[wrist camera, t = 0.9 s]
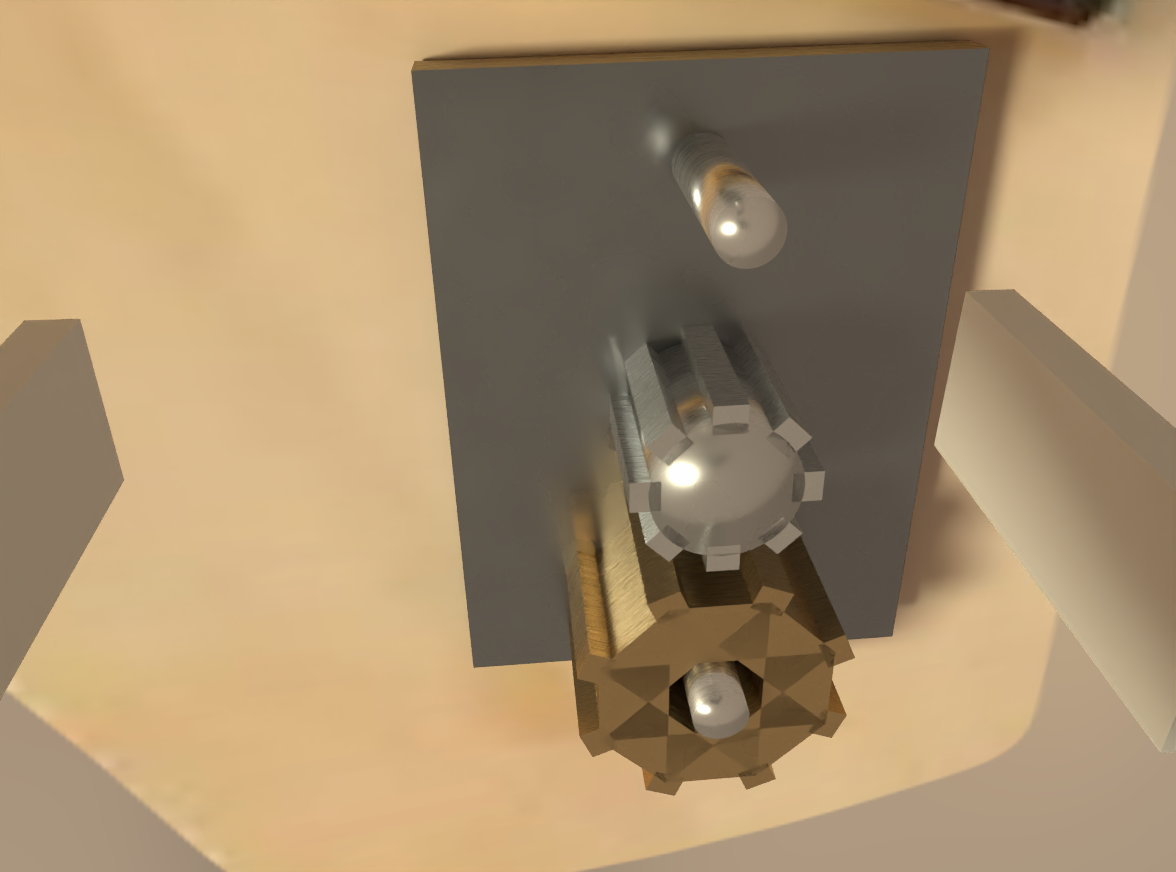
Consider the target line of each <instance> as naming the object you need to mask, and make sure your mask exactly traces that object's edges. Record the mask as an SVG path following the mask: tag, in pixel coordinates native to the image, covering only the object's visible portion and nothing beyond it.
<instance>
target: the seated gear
mask: <svg viewBox="0 0 1176 872" xmlns="http://www.w3.org/2000/svg"><path fill="white" fill-rule="evenodd" d="M627 510H628V515H629V520H630V525H629V526H628V527H627V528H626V529H625V530H624V531H622V532H621V533H620V534H619V535H618V536H617V537H616V538H615V539H614V540H612V541H611V542H610V543H609V544H608V545H607V546H606V547H605V548H604V549H602V550H601V551H600V552H599V553H598V554H597V555H592V554H589V553H585V552H581V551H576V554H575V556H574V558H573V560H572V562H571V565H570V567H569V569H568V571H567V573H566V575H567V585H568V594H569V603H570V613H571V622H572V626H571V627H569V637H570V647H571V656H572V666H573V676H574V686H575V696H576V705H577V715H578V725H579V735H580V738H581V739H582V741H583V742H584V744H585V746H586V747H587V749H588V750H589V752H590V753H591V755H592V756H593V757H594V756H597V755H600V754H602V753H605V752H608V751H610V750H614V751H616V752H618V753H619V754H621V755H622V756H624V757H625V758H627V759H629V760H630V761H632V762H633V763H635V764H637V765H638V766H640V767H641V768H642V770H643V776H644V782H645V788H646V790H649V791H654V792H659V793H664V794H669V795H674V796H675V794H676V792H677V791H678V789H679V787H680V785H681V784H682V782H683V781H695V780H707V779H719V778H731V777H740V778H741V780H742V782H743V784H744V786H745V788H746V790H747V789H750V788H752V787H755V786H758V785H761V784H763V783H766V782H769V781H771V780H774V779H776V778H775V775H774V772H773V768H772V765H771V764H772V763H774V762H775V761H776V760H778V759H779V758H780V757H782V756H783V755H784V754H786V753H787V752H789V751H790V750H791V749H793V748H794V747H795V746H797V745H798V744H799V743H801V742H802V741H803V740H805V739H806V738H807V737H809V736H810V735H811V734H817V735H822V736H826V737H830V738H832V736H833V735H834V733H835V732H836V730H837V729H838V727H839V726H840V724H841V723H842V721H843V720H844V718H845V717H846V712H845V710H844V708H843V705H842V703H841V700H840V698H839V696H838V693H837V691H836V688H835V686H834V683H833V681H832V674H833V666H835V665H837V664H840V663H843V662H845V661H848V660H851V659H853V658H855V657H854V654H853V652H852V650H851V647H850V645H849V642H848V640H847V637H846V635H845V633H844V630H843V628H842V626H841V624H840V622H839V619H838V617H837V615H836V613H835V611H834V609H833V606H832V604H831V602H830V600H829V598H828V595H827V593H826V591H825V589H824V587H823V584H822V582H821V580H820V578H819V576H818V573H817V571H816V569H815V567H814V565H813V562H812V560H811V558H810V556H809V554H808V551H807V549H806V547H805V545H804V543H803V540H802V538H801V536H799V537H798V538H796V539H795V540H794V541H793V542H792V543H790V544H789V545H788V546H787V547H786V548H784V549H783V550H782V551H781V552H780V553H778V554H777V553H775V552H774V551H773V550H772V549H771V548H769V547H768V546H767V545H766V544H763V545H761V546H759V547H756V548H754V549H752V550H749V551H746V552H743V553H740V564H739V569H738V570H724V571H709V572H706V569H705V566H704V562H703V559H702V556H701V554H696V553H693V552H690V551H687V550H685V549H683V550H682V551H681V552H680V553H679V554H677V555H676V556H675V557H674V558H673V559H672V560H670V561H667V560H666V559H665V558H663V557H662V556H661V555H659V554H658V553H657V552H655V551H654V550H653V549H651V548H650V547H649V546H648V545H646V544H645V539H644V535H643V530H642V526H641V522H640V517H639V513H638V512H636V513H629V508H628V505H627ZM722 661H734V663H735V666H736V670H737V673H738V676H739V679H740V683H741V686H742V689H743V693H744V696H745V699H746V703H747V706H748V709H749V720H748V722H747V724H746V726H745V727H744V728H743V729H742V730H741V731H739V732H738V733H736V734H735V735H732V736H730V737H726V738H720V739H714V738H708V737H705V736H703V735H701V734H700V733H699V732H698V731H697V730H696V729H695V727H694V724H693V720H692V716H691V712H690V707H689V703H688V699H687V694H686V690H685V686H684V682H683V677H682V676H683V675H684V674H685V673H687V672H688V671H689V670H690V669H692V668H693V667H694V666H695V665H696V664H698V663H709V662H722Z"/></svg>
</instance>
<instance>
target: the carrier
mask: <svg viewBox="0 0 1176 872" xmlns="http://www.w3.org/2000/svg"><path fill="white" fill-rule="evenodd" d="M989 50H990V48H988V47H985V46H983V45H980V44H978V43H975V42H972V41H970V40H959V41H933V42H907V43H881V44H854V45H828V46H802V47H776V48H749V49H723V50H697V51H671V52H644V53H618V54H592V55H566V56H540V57H513V58H487V59H461V60H435V61H415V62H414V65H413V67H412V70H411V72H412V82H413V92H414V101H415V111H416V120H417V130H418V139H419V149H420V159H421V168H422V178H423V187H424V197H425V206H426V216H427V226H428V235H429V245H430V254H431V264H432V274H433V283H434V293H435V302H436V312H437V321H438V331H439V341H440V350H441V360H442V369H443V379H444V388H445V398H446V408H447V417H448V427H449V436H450V446H451V456H452V465H453V475H454V484H455V494H456V503H457V513H458V523H459V532H460V542H461V551H462V561H463V570H464V580H465V590H466V599H467V609H468V618H469V628H470V637H471V647H472V657H473V666H474V668H475V667H489V666H502V665H515V664H529V663H542V662H555V661H569V660H572V656H571V647H570V637H569V627H571V626H572V622H571V613H570V603H569V594H568V585H567V575H566V573H567V571H568V569H569V567H570V565H571V562H572V560H573V558H574V556H575V554H576V551H581V552H585V553H589V554H592V555H597V554H598V553H599V552H600V551H601V550H602V549H604V548H605V547H606V546H607V545H608V544H609V543H610V542H611V541H612V540H614V539H615V538H616V537H617V536H618V535H619V534H620V533H621V532H622V531H624V530H625V529H626V528H627V527H628V526H629V525H630V520H629V515H628V510H627V505H628V508H629V513H636V512H638V513H639V517H640V522H641V526H642V530H643V535H644V539H645V544H646V545H648V546H649V547H650V548H651V549H653V550H654V551H655V552H657V553H658V554H659V555H661V556H662V557H663V558H665V559H666V560H667V561H670V560H672V559H673V558H674V557H675V556H676V555H677V554H679V553H680V552H681V551H682V550H683V549H685V550H687V551H690V552H693V553H696V554H701V556H702V559H703V562H704V566H705V569H706V572H709V571H724V570H738V569H739V564H740V553H743V552H746V551H749V550H752V549H754V548H756V547H759V546H761V545H763V544H766V545H767V546H768V547H769V548H771V549H772V550H773V551H774V552H775V553H777V554H778V553H780V552H781V551H782V550H783V549H784V548H786V547H787V546H788V545H789V544H790V543H792V542H793V541H794V540H795V539H796V538H798V537H799V536H801V538H802V540H803V543H804V545H805V547H806V549H807V551H808V554H809V556H810V558H811V560H812V562H813V565H814V567H815V569H816V571H817V573H818V576H819V578H820V580H821V582H822V584H823V587H824V589H825V591H826V593H827V595H828V598H829V600H830V602H831V604H832V606H833V609H834V611H835V613H836V615H837V617H838V619H839V622H840V624H841V626H842V628H843V630H844V633H845V635H846V637H847V640H849V639H862V638H876V637H889V636H892V635H893V629H894V623H895V617H896V610H897V604H898V598H899V592H900V586H901V580H902V574H903V568H904V562H905V556H906V550H907V544H908V538H909V532H910V526H911V520H912V514H913V508H914V502H915V496H916V490H917V484H918V478H919V472H920V466H921V460H922V454H923V448H924V442H925V436H926V430H927V424H928V418H929V412H930V405H931V399H932V393H933V387H934V381H935V375H936V369H937V363H938V357H939V351H940V345H941V339H942V333H943V327H944V321H945V315H946V309H947V303H948V297H949V291H950V285H951V279H952V273H953V267H954V261H955V255H956V249H957V243H958V237H959V231H960V225H961V219H962V213H963V207H964V200H965V194H966V188H967V182H968V176H969V170H970V164H971V158H972V152H973V146H974V140H975V134H976V128H977V122H978V116H979V110H980V104H981V98H982V92H983V86H984V80H985V74H986V68H987V62H988V56H989ZM682 677H683V682H684V686H685V690H686V694H687V699H688V703H689V707H690V712H691V716H692V720H693V724H694V727H695V729H696V730H697V731H698V732H699V733H700V734H701V735H703V736H705V737H708V738H714V739H720V738H726V737H730V736H732V735H735V734H736V733H738V732H739V731H741V730H742V729H743V728H744V727H745V726H746V724H747V722H748V720H749V709H748V706H747V703H746V699H745V696H744V693H743V689H742V686H741V683H740V679H739V676H738V673H737V670H736V666H735V663H734V661H722V662H709V663H698V664H696V665H695V666H694V667H693V668H692V669H690V670H689V671H688V672H687V673H685V674H684V675H683V676H682Z"/></svg>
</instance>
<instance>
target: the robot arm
mask: <svg viewBox="0 0 1176 872" xmlns="http://www.w3.org/2000/svg"><path fill="white" fill-rule="evenodd" d="M934 446H935V447H936V448H937V450H938V451H939V453H940V454H941V455H942V457H943V458H944V459H945V461H946V462H947V463H948V465H949V466H950V468H951V469H952V470H953V472H954V473H955V474H956V476H957V477H958V478H959V480H960V481H961V482H962V484H963V485H964V487H965V488H966V489H967V491H968V492H969V493H970V495H971V496H972V497H973V499H974V500H975V501H976V503H977V504H978V506H979V507H980V508H981V510H982V511H983V512H984V514H985V515H986V516H987V518H988V519H989V521H990V522H991V523H992V525H993V526H994V527H995V529H996V530H997V531H998V533H999V534H1000V535H1001V537H1002V538H1003V540H1004V541H1005V542H1006V544H1007V545H1008V546H1009V548H1010V549H1011V550H1012V552H1013V553H1014V554H1015V556H1016V557H1017V559H1018V560H1019V561H1020V563H1021V564H1022V565H1023V567H1024V568H1025V569H1026V571H1027V572H1028V573H1029V575H1030V576H1031V578H1032V579H1033V580H1034V582H1035V583H1036V584H1037V586H1038V587H1039V588H1040V590H1041V591H1042V593H1043V594H1044V595H1045V597H1046V598H1047V599H1048V601H1049V602H1050V603H1051V605H1052V606H1053V607H1054V609H1055V610H1056V612H1057V613H1058V614H1059V616H1060V617H1061V618H1062V619H1063V621H1064V622H1065V624H1066V625H1067V626H1068V628H1069V629H1070V631H1071V632H1072V633H1073V635H1074V636H1075V637H1076V639H1077V640H1078V641H1079V643H1080V644H1081V645H1082V647H1083V648H1084V650H1085V651H1086V652H1087V653H1088V655H1089V656H1090V658H1091V659H1092V660H1093V662H1094V663H1095V664H1096V666H1097V667H1098V669H1099V670H1100V671H1101V673H1102V674H1103V675H1104V677H1105V678H1106V679H1107V681H1108V682H1109V683H1110V685H1111V686H1112V688H1113V689H1114V690H1115V692H1116V693H1117V694H1118V696H1119V697H1120V698H1121V700H1122V701H1123V702H1124V704H1125V705H1126V706H1127V708H1128V709H1129V711H1130V712H1131V713H1132V715H1133V716H1134V717H1135V719H1136V720H1137V722H1138V723H1139V724H1140V726H1141V727H1142V728H1143V730H1144V731H1145V732H1146V734H1147V735H1148V737H1149V738H1150V739H1151V741H1152V742H1153V743H1154V745H1155V746H1156V747H1157V749H1158V750H1159V751H1160V753H1167V752H1176V428H1175V427H1174V426H1172V425H1171V424H1170V423H1169V422H1168V421H1166V420H1165V419H1164V418H1163V417H1162V416H1161V415H1160V414H1159V413H1157V412H1156V411H1155V410H1154V409H1153V408H1152V407H1150V406H1149V405H1148V404H1147V403H1146V402H1144V401H1143V400H1142V399H1141V398H1140V397H1139V396H1137V395H1136V394H1135V393H1134V392H1133V391H1132V390H1131V389H1129V388H1128V387H1127V386H1126V385H1124V384H1123V383H1122V382H1121V381H1120V380H1119V379H1118V378H1117V377H1115V376H1114V375H1113V374H1112V373H1111V372H1110V371H1108V370H1107V369H1106V368H1105V367H1104V366H1103V365H1101V364H1100V363H1099V362H1098V361H1097V360H1096V359H1094V358H1093V357H1092V356H1091V355H1090V354H1089V353H1087V352H1086V351H1085V350H1084V349H1083V348H1082V347H1080V346H1079V345H1078V344H1077V343H1076V342H1075V341H1073V340H1072V339H1071V338H1070V337H1069V336H1068V335H1066V334H1065V333H1064V332H1063V331H1062V330H1061V329H1059V328H1058V327H1057V326H1056V325H1055V324H1054V323H1052V322H1051V321H1050V320H1049V319H1048V318H1047V317H1045V316H1044V315H1043V314H1042V313H1041V312H1040V311H1038V310H1037V309H1036V308H1035V307H1034V306H1033V305H1031V304H1030V303H1029V302H1028V301H1027V300H1026V299H1024V298H1023V297H1022V296H1021V295H1020V294H1019V293H1017V292H1016V291H1015V290H1014V289H1012V290H981V291H966V292H965V297H964V302H963V307H962V311H961V316H960V321H959V326H958V331H957V336H956V341H955V346H954V350H953V355H952V360H951V365H950V370H949V375H948V380H947V384H946V389H945V394H944V399H943V404H942V409H941V414H940V418H939V423H938V428H937V433H936V438H935V443H934ZM123 481H124V478H123V475H122V471H121V467H120V464H119V460H118V456H117V453H116V449H115V445H114V442H113V438H112V434H111V431H110V427H109V423H108V420H107V416H106V413H105V409H104V405H103V402H102V398H101V394H100V391H99V387H98V383H97V380H96V376H95V372H94V369H93V365H92V361H91V358H90V354H89V350H88V347H87V343H86V339H85V336H84V332H83V328H82V325H81V321H80V319H60V320H28V321H24V322H23V323H22V324H21V325H20V326H19V327H18V328H17V329H16V330H15V331H14V332H13V333H12V334H11V335H10V336H9V337H8V338H7V339H6V340H5V342H4V343H3V344H2V345H1V346H0V700H1V698H2V696H3V694H4V692H5V691H6V689H7V687H8V685H9V684H10V682H11V680H12V678H13V676H14V675H15V673H16V671H17V669H18V668H19V666H20V664H21V662H22V660H23V659H24V657H25V655H26V653H27V652H28V650H29V648H30V646H31V644H32V643H33V641H34V639H35V637H36V636H37V634H38V632H39V630H40V628H41V627H42V625H43V623H44V621H45V620H46V618H47V616H48V614H49V612H50V611H51V609H52V607H53V605H54V604H55V602H56V600H57V598H58V597H59V595H60V593H61V591H62V589H63V588H64V586H65V584H66V582H67V581H68V579H69V577H70V575H71V573H72V572H73V570H74V568H75V566H76V565H77V563H78V561H79V559H80V557H81V556H82V554H83V552H84V550H85V549H86V547H87V545H88V543H89V541H90V540H91V538H92V536H93V534H94V533H95V531H96V529H97V527H98V525H99V524H100V522H101V520H102V518H103V517H104V515H105V513H106V511H107V509H108V508H109V506H110V504H111V502H112V501H113V499H114V497H115V495H116V493H117V492H118V490H119V488H120V486H121V485H122V483H123Z"/></svg>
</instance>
